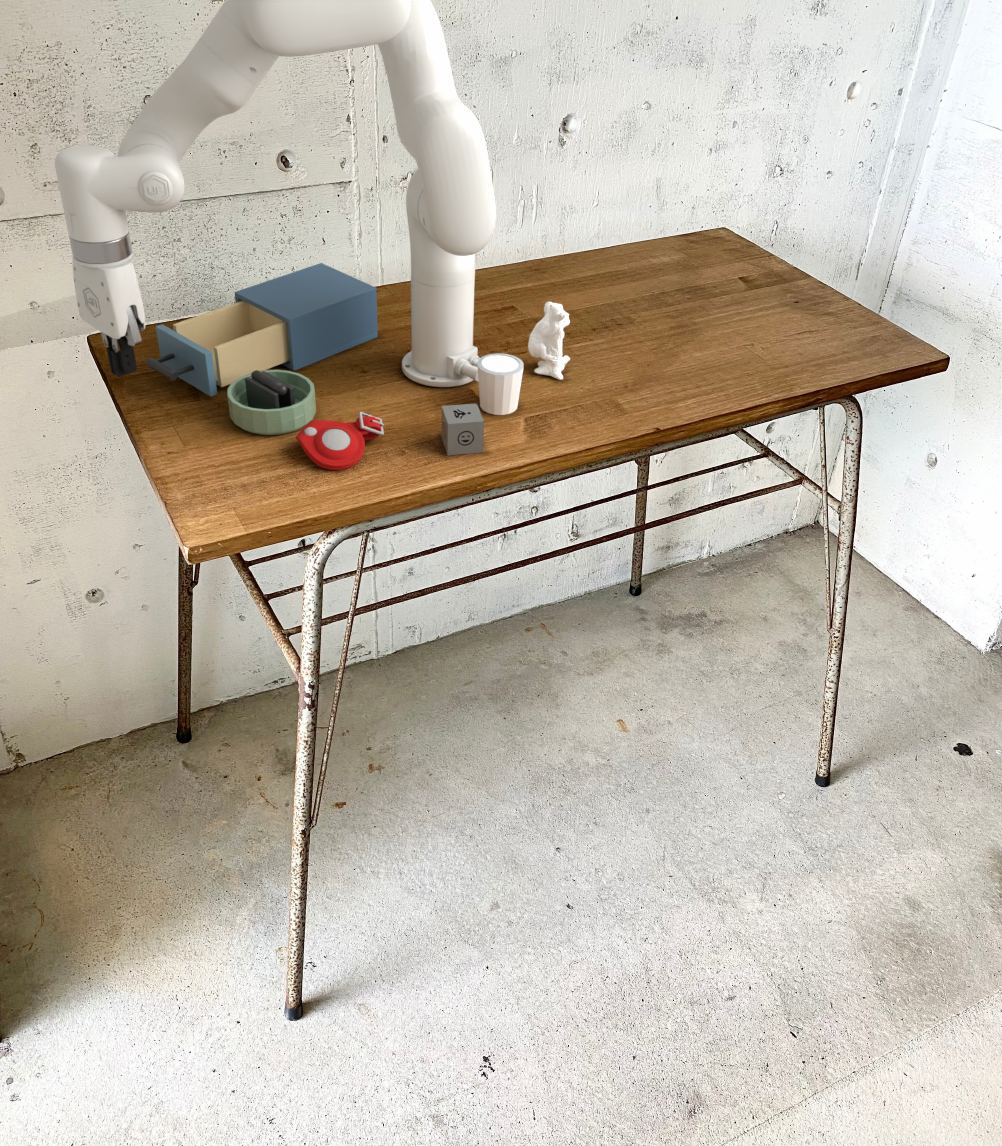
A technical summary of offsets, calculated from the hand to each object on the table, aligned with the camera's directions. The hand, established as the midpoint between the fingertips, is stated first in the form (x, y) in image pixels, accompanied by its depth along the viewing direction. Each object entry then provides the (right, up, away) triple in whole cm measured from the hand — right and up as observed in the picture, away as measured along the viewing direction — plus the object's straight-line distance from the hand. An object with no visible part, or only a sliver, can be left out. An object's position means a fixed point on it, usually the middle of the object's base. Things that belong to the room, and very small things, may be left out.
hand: (124, 371), depth 155 cm
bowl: (+20, -6, +4) cm, 21 cm away
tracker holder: (+32, -12, -3) cm, 34 cm away
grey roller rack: (+20, -5, +3) cm, 21 cm away
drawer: (+10, +3, +12) cm, 16 cm away
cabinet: (+22, +10, +23) cm, 34 cm away
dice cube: (+48, -11, 0) cm, 49 cm away
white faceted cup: (+53, -4, +9) cm, 54 cm away
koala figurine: (+61, +3, +18) cm, 64 cm away
